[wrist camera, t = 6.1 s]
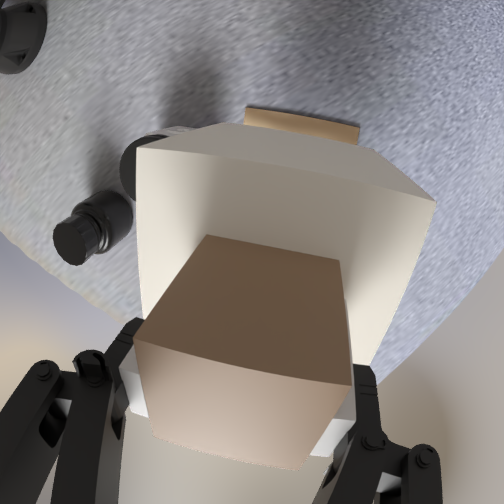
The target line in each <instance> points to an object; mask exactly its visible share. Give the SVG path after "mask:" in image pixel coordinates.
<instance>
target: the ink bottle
mask: <svg viewBox="0 0 504 504" xmlns="http://www.w3.org/2000/svg"><path fill="white" fill-rule="evenodd" d="M131 226H132V213H131V209H130V206H129V204H128V203H127V201H126V200H125V199H124V198H123V197H122V196H121V195H120V194H118V193H116V192H114V191H109V190H104V191H101V192H98V193H96V194H94V195H93V196H91V197H89V198H87V199H85V200H84V201H82V202H80V203H79V204H77V205H76V206H75V207H74V209H73V211H72V213H71V216H70V217H68V218H67V219H65V220H64V221H62V222H60V223H59V224H57V225H56V227H55V229H54V230H53V231H54V232H53V241H54V246H55V248H56V250H57V252H58V254H59V255H60V256H61V257H62V259H63V260H64V261H66V262H67V263H69V264H70V265H75V266H78V265H82V264H83V263H84V262H85V261H87V260H88V259H89V258H90V257H91V256H92V255H93V254H103V253H106V252H107V251H109V250H110V249H111V248H112V247H114V246H115V245H116V244H117V243H118V242H119V241H121V240H122V239H123V238H124V237H125V236H126V235H127V234H128V233H129V231H130V229H131Z"/></svg>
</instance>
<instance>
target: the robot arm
mask: <svg viewBox="0 0 504 504" xmlns="http://www.w3.org/2000/svg"><path fill="white" fill-rule="evenodd" d="M4 2H5V0H0V73H3V74H17V73H20V72H22V71H24V70H25V69H26V68H27V67H28V66H29V65H30V64H31V63H32V62H33V60H34V59H35V57H36V56H37V54H38V52H39V50H40V48H41V45H42V42H43V39H44V36H45V31H46V14H45V11H44V9H43V7H42V6H41V5H40V4H37V3H31V2H25V3H21V4H17V5H13V6H10V7H6V8H3V9H1V7H2V5H3V4H4ZM344 301H345V309H346V319H347V329H348V339H349V351H350V364H351V378H352V387H351V389H350V391H349V392H348V394H347V396H346V398H345V399H344V401H343V403H342V404H341V406H340V408H339V410H338V411H337V413H336V414H335V416H334V418H332V420H331V422H330V423H329V425H328V427H327V428H326V430H325V431H324V433H323V434H322V436H321V438H320V439H319V441H318V442H317V444H316V445H315V447H314V448H313V450H312V451H311V453H310V454H309V455H314V456H324V457H329V456H330V455H331V454H332V452H333V451H334V458H333V459H334V460H333V462H332V463H331V464H330V466H329V467H328V468H327V469H326V470H325V472H324V473H323V474H325V477H324V479H323V482H322V484H321V486H320V488H319V490H318V492H317V495H316V496H315V499H314V501H313V503H312V504H372V503H373V500H374V504H443V500H442V481H441V467H440V458H439V455H438V453H437V451H436V450H435V449H434V448H433V447H431V446H430V445H426V444H419V445H416V446H415V447H413V448H412V449H409V448H406V447H403V446H400V445H397V444H395V443H393V442H391V441H390V440H389V439H388V437H387V435H386V434H385V433H384V432H383V431H382V428H381V421H380V411H379V402H378V397H377V395H378V393H377V388H376V386H377V385H376V378H375V374H374V373H373V371H372V369H371V368H370V366H368V365H360V364H353V360H352V348H351V338H350V328H349V319H348V310H347V302H346V299H344ZM144 321H145V320H144V319H141V318H137V317H136V318H134V319H132V320H131V321H129V322H128V323H126V325H125V326H124V327H123V329H122V330H121V331H120V334H118V336H117V337H116V338H115V340H114V341H113V343H112V344H111V345H110V346H109V348H108V349H107V351H106V352H105V353H104V354H103V353H102V352H100V351H97V350H86V351H83V352H80V353H79V354H78V355H77V356H75V358H74V360H73V361H72V362H73V364H74V367H75V369H76V372H68V371H61V370H60V369H59V367H58V365H57V364H56V363H54V362H53V361H50V360H41V361H39V362H37V363H35V364H34V365H33V366H32V367H31V368H30V370H29V371H28V372H27V374H26V375H25V377H24V378H23V380H22V381H21V382H20V384H19V385H18V386H17V388H16V389H15V391H14V392H13V394H12V395H11V397H10V398H9V400H8V401H7V403H6V404H5V406H4V407H3V409H2V411H1V412H0V504H36V501H37V499H38V497H39V495H40V493H41V490H42V488H43V486H44V484H45V482H46V479H47V477H48V475H49V473H50V471H51V469H52V467H53V465H54V463H55V461H56V459H57V457H58V461H57V466H56V472H55V477H54V484H53V490H52V497H51V504H118V495H119V480H120V469H121V458H122V448H123V439H124V429H125V422H126V416H125V411H126V409H127V407H128V405H129V406H130V409H131V412H133V413H136V414H139V415H142V416H144V417H147V418H149V414H148V410H147V405H146V401H145V397H144V392H143V388H142V383H141V378H140V374H139V370H138V365H137V360H136V354H135V348H134V343H133V337H134V335H135V334H136V332H137V331H138V329H139V328H140V326H141V325H142V323H143V322H144ZM58 455H59V456H58Z"/></svg>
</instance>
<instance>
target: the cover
mask: <svg viewBox="0 0 504 504" xmlns="http://www.w3.org/2000/svg"><path fill="white" fill-rule="evenodd" d="M436 204H437V202H436V201H435V200H434V199H433V198H432V197H431V196H430V195H429V194H427V193H426V192H425V191H424V190H423V189H422V188H421V187H419V186H418V185H417V184H416V183H415V182H414V181H412V180H411V179H410V178H409V177H408V176H406V175H405V174H404V173H403V172H402V171H400V170H399V169H398V168H397V167H395V166H394V165H393V164H392V163H390V162H389V161H388V160H387V159H385V158H384V157H383V156H382V155H380V154H379V153H378V152H376V151H375V150H374V149H370V148H366V147H362V146H357V145H353V144H349V143H344V142H340V141H335V140H331V139H326V138H321V137H316V136H311V135H306V134H300V133H295V132H289V131H283V130H277V129H270V128H264V127H257V126H250V125H242V124H234V123H225V122H222V123H218V124H214V125H210V126H206V127H202V128H199V129H195V130H191V131H188V132H184V133H181V134H177V135H174V136H171V137H167V138H164V139H161V140H158V141H154V142H151V143H148V144H145V145H142V146H139V147H137V152H136V221H137V246H138V264H139V278H140V290H141V301H142V311H143V319H144V320H145V321H144V322H143V323H142V325H141V326H140V328H139V329H138V331H137V332H136V334H135V335H134V337H133V343H134V348H135V354H136V360H137V365H138V370H139V374H140V378H141V383H142V388H143V392H144V397H145V401H146V405H147V410H148V414H149V419H150V423H151V427H152V431H153V434H154V437H155V438H158V439H161V440H164V441H167V442H170V443H173V444H177V445H180V446H183V447H187V448H190V449H194V450H197V451H201V452H205V453H208V454H213V455H217V456H220V457H225V458H229V459H234V460H238V461H243V462H248V463H253V464H259V465H264V466H270V467H276V468H283V469H290V470H299V469H300V468H301V466H302V465H303V463H304V462H305V461H306V459H307V458H308V456H309V454H310V453H311V451H312V450H313V448H314V447H315V445H316V444H317V442H318V441H319V439H320V438H321V436H322V434H323V433H324V431H325V430H326V428H327V427H328V425H329V423H330V422H331V420H332V418H334V416H335V414H336V413H337V411H338V410H339V408H340V406H341V404H342V403H343V401H344V399H345V398H346V396H347V394H348V392H349V391H350V389H351V387H352V378H351V364H350V351H349V339H348V329H347V319H346V309H345V301H344V299H346V302H347V310H348V319H349V328H350V338H351V348H352V360H353V364H360V365H368V366H369V365H370V363H371V361H372V359H373V357H374V355H375V353H376V351H377V349H378V347H379V345H380V343H381V341H382V339H383V337H384V335H385V333H386V331H387V329H388V327H389V325H390V323H391V321H392V319H393V316H394V314H395V312H396V310H397V308H398V305H399V303H400V301H401V299H402V296H403V294H404V292H405V289H406V287H407V285H408V282H409V280H410V277H411V275H412V272H413V270H414V267H415V265H416V262H417V259H418V257H419V254H420V251H421V249H422V246H423V243H424V240H425V238H426V235H427V232H428V229H429V226H430V223H431V220H432V217H433V214H434V210H435V207H436Z"/></svg>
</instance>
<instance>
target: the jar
mask: <svg viewBox="0 0 504 504" xmlns="http://www.w3.org/2000/svg"><path fill="white" fill-rule="evenodd" d="M195 129H196V128H190V127H184V126H174V127H169V128H165V129H161V130H157V131H153V132H149V133H146V134H145V136H144V137H141V138H140V139H137V140H135V141H134V142H132V143H131V144H130V145H129V146H128V147H127V148H126V150H125V151H124V153H123V155H122V158H121V161H120V178H121V182H122V185H123V187H124V189H125V191H126V192H127V194H128V195H129V196H130V197H131V198H132V199H133V200H134V201H136V152H137V147H139V146H142V145H145V144H148V143H151V142H154V141H158V140H161V139H164V138H167V137H171V136H174V135H177V134H181V133H184V132H188V131H191V130H195Z"/></svg>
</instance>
